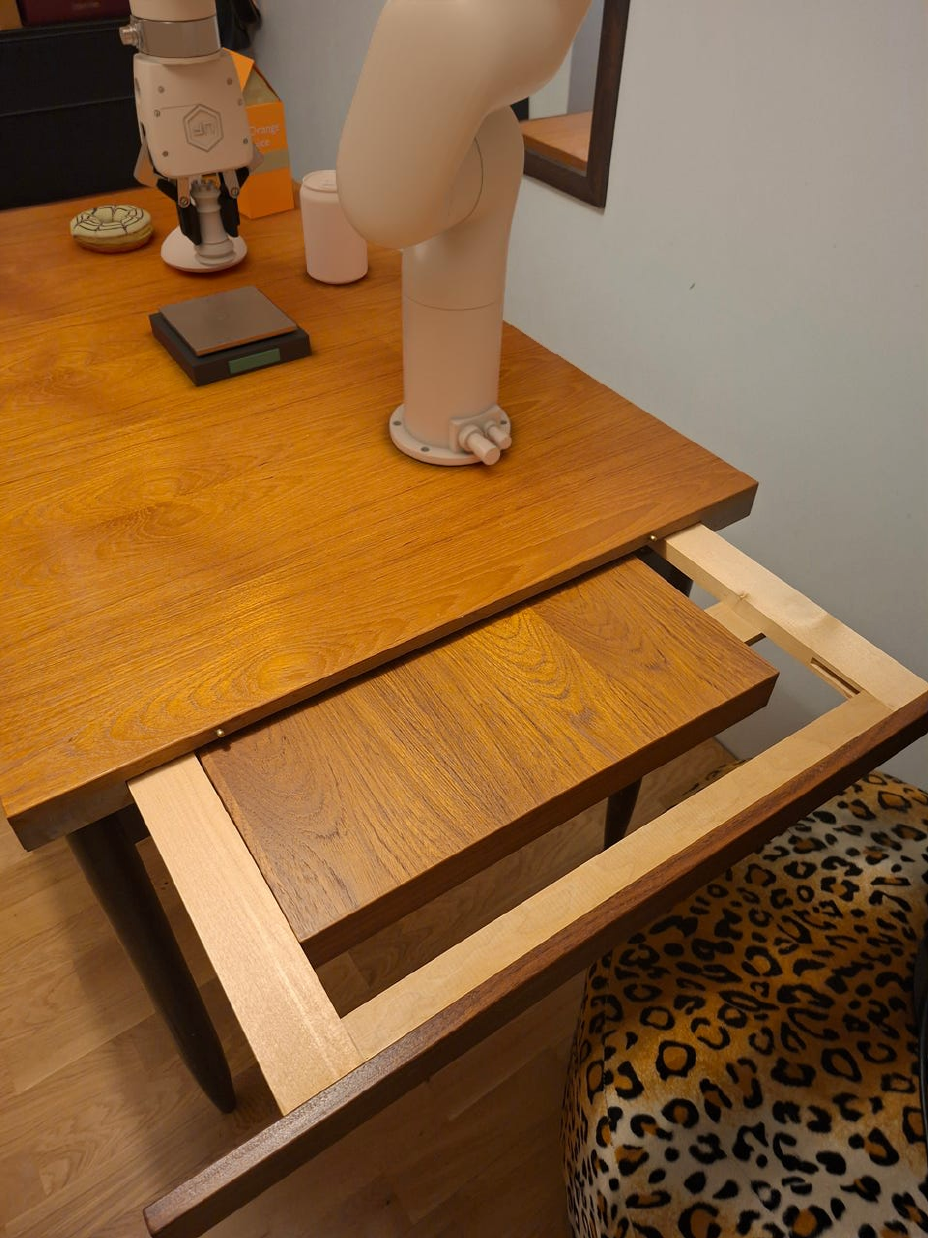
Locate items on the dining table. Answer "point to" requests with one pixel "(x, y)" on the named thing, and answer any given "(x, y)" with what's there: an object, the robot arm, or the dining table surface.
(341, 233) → the beverage can
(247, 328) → the platter
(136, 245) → the decorated donut
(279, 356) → the scale
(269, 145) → the orange juice
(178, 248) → the flower in vase
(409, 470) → the dining table surface
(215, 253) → the rook chess piece
